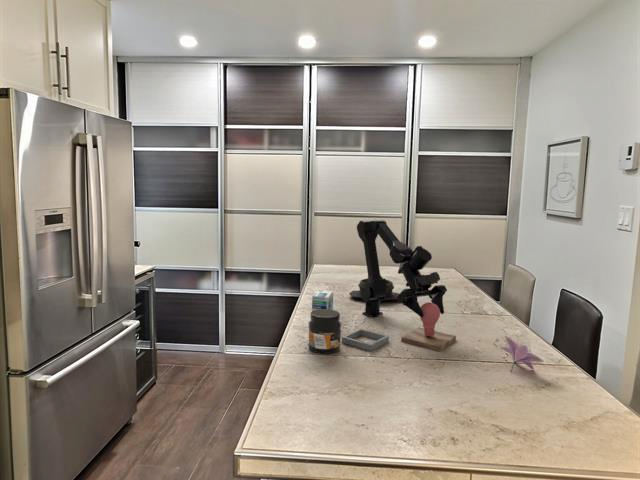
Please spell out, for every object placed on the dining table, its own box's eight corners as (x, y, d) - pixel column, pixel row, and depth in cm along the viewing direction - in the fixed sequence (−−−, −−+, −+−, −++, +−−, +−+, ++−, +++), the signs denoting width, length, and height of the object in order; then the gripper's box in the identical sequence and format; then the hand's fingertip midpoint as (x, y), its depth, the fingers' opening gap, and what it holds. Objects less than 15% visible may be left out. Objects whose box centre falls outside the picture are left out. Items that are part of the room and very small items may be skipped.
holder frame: (359, 333, 159) (360, 328, 159) (388, 341, 152) (388, 335, 152) (341, 342, 150) (341, 336, 150) (371, 351, 143) (371, 345, 143)
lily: (545, 384, 125) (553, 351, 127) (509, 369, 123) (518, 336, 126) (517, 379, 136) (525, 349, 139) (484, 365, 135) (493, 335, 137)
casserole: (348, 302, 202) (348, 284, 200) (350, 292, 220) (350, 276, 219) (403, 305, 199) (404, 287, 198) (401, 295, 217) (401, 278, 216)
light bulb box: (328, 324, 169) (329, 297, 168) (311, 323, 170) (311, 295, 169) (333, 316, 179) (333, 290, 178) (316, 315, 181) (317, 289, 179)
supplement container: (317, 356, 137) (318, 319, 136) (302, 345, 147) (303, 310, 145) (346, 351, 142) (347, 315, 141) (330, 341, 152) (331, 307, 150)
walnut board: (418, 331, 164) (418, 327, 164) (455, 340, 156) (455, 335, 155) (401, 341, 153) (401, 337, 153) (439, 351, 145) (440, 346, 144)
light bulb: (413, 335, 154) (415, 302, 153) (425, 331, 159) (426, 299, 158) (431, 341, 149) (433, 306, 148) (442, 336, 154) (444, 303, 153)
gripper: (404, 266, 150) (424, 306, 142) (445, 262, 159) (466, 300, 151) (388, 284, 158) (407, 323, 150) (428, 279, 167) (448, 316, 159)
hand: (433, 315), depth 152 cm, fingers open, 9 cm apart
